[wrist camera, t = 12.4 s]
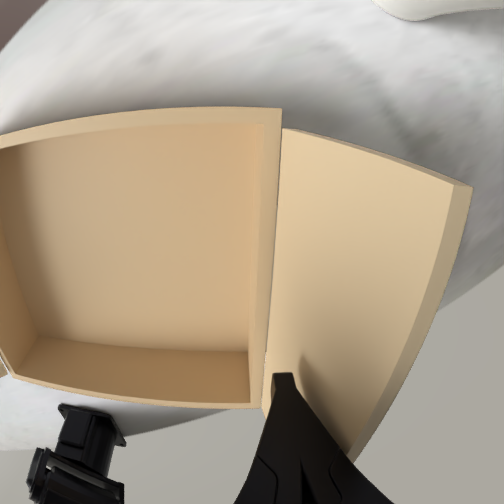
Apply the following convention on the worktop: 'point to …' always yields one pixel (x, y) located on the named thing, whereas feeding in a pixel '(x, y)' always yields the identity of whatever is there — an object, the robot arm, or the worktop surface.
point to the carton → (141, 254)
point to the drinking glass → (433, 7)
